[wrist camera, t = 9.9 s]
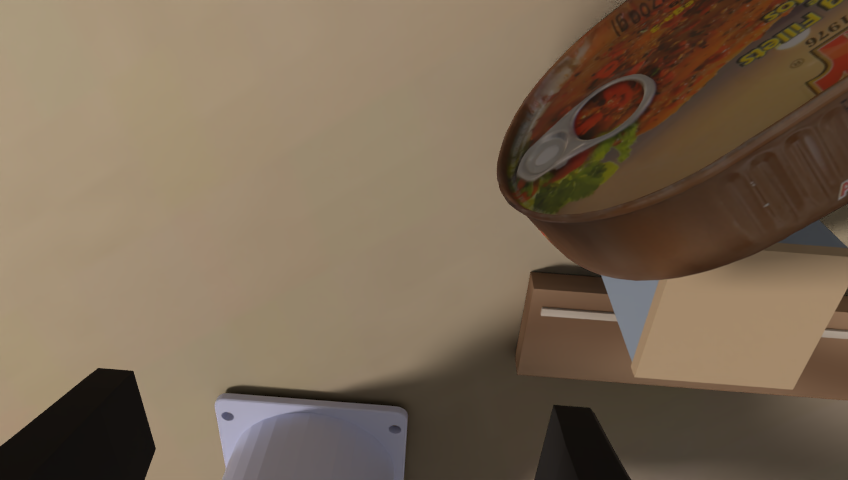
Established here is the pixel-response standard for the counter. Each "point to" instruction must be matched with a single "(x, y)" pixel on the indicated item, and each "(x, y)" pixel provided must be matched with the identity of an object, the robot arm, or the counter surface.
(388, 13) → the counter surface
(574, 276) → the board
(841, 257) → the tan grey block
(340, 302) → the counter surface
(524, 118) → the tin
